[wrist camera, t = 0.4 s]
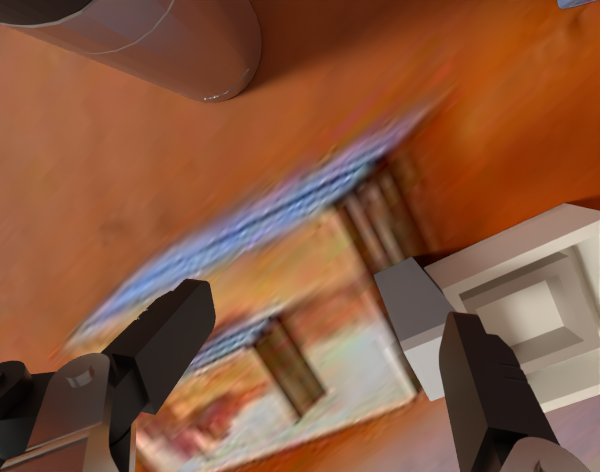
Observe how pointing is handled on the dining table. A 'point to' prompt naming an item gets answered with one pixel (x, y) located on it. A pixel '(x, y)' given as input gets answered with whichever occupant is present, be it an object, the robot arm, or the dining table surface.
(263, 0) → the dining table surface
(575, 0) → the ink cartridge box
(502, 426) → the robot arm
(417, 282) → the plug
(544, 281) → the caddy
